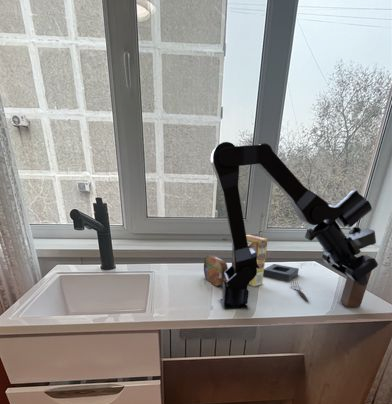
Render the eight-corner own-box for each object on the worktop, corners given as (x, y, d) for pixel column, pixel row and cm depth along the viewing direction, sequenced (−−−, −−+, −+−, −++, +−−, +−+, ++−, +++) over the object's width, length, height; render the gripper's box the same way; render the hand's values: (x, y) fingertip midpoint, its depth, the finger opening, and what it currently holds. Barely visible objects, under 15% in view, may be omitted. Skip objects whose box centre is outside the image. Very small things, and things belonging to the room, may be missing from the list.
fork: (302, 302, 85) (304, 296, 84) (289, 284, 99) (290, 279, 98) (311, 303, 85) (313, 296, 84) (296, 284, 99) (297, 279, 98)
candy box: (262, 284, 98) (268, 238, 90) (253, 287, 96) (259, 239, 88) (245, 277, 104) (249, 234, 97) (236, 279, 102) (240, 235, 95)
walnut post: (346, 306, 81) (360, 261, 75) (339, 301, 85) (352, 257, 79) (360, 306, 82) (375, 261, 75) (353, 301, 85) (366, 257, 79)
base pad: (288, 281, 101) (289, 274, 100) (262, 276, 106) (263, 269, 105) (297, 274, 109) (298, 268, 107) (272, 270, 114) (273, 263, 112)
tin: (202, 275, 105) (203, 252, 101) (210, 275, 106) (211, 252, 102) (219, 289, 93) (221, 264, 89) (228, 288, 94) (230, 263, 90)
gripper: (383, 223, 64) (412, 272, 69) (343, 213, 80) (369, 253, 86) (339, 257, 67) (370, 301, 73) (309, 241, 83) (336, 278, 89)
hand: (361, 281), depth 80 cm, fingers closed on walnut post, 4 cm apart
